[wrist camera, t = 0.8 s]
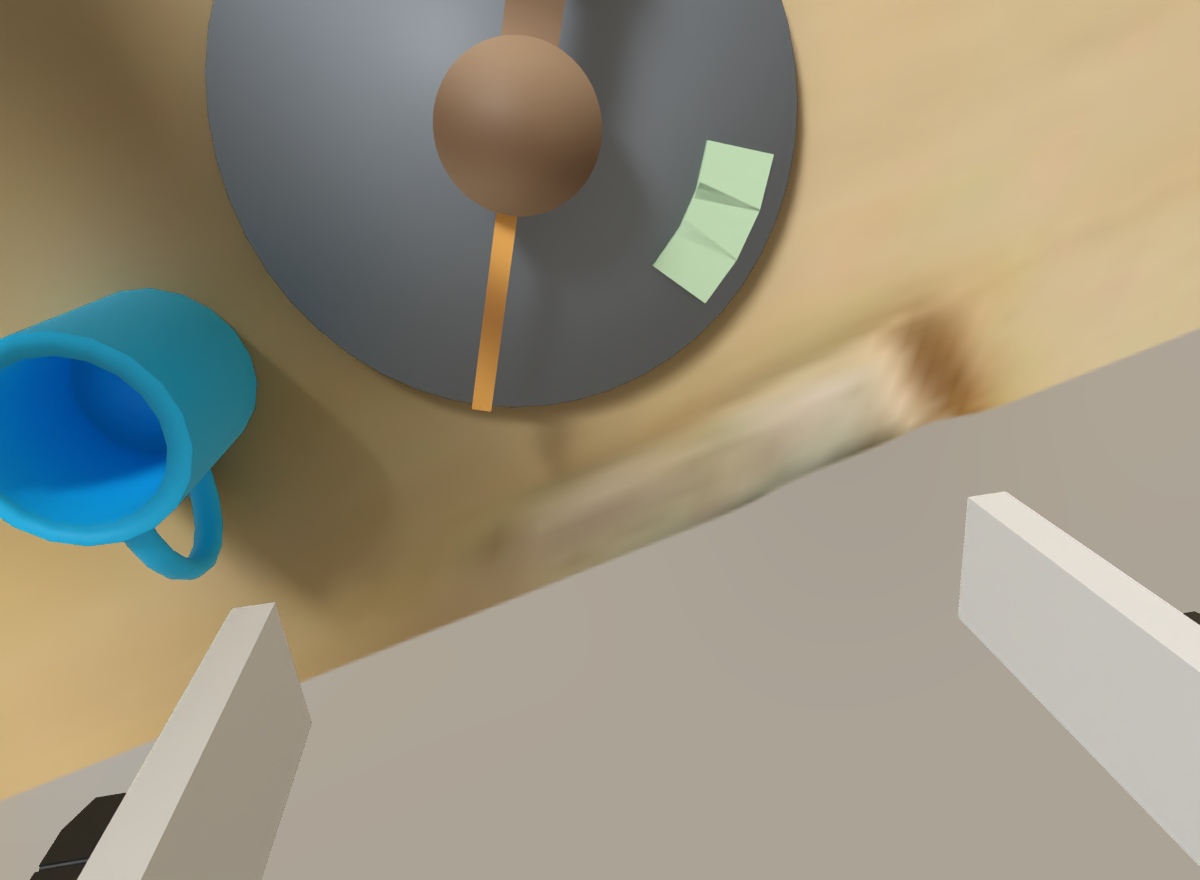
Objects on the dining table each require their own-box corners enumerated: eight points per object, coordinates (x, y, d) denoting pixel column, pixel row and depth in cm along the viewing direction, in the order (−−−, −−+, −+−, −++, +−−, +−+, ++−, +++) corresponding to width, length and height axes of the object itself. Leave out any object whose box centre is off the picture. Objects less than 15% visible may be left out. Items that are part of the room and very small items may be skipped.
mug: (27, 315, 33) (-112, 366, 26) (212, 266, 34) (129, 303, 26) (152, 550, 38) (66, 652, 30) (315, 506, 38) (270, 596, 30)
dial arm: (471, -201, 27) (467, -259, 23) (636, -158, 28) (659, -206, 24) (415, 379, 34) (404, 409, 31) (548, 396, 36) (554, 428, 32)
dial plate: (79, 48, 30) (20, 35, 26) (580, -379, 27) (594, -460, 24) (468, 491, 39) (465, 528, 35) (878, 200, 36) (922, 207, 32)
